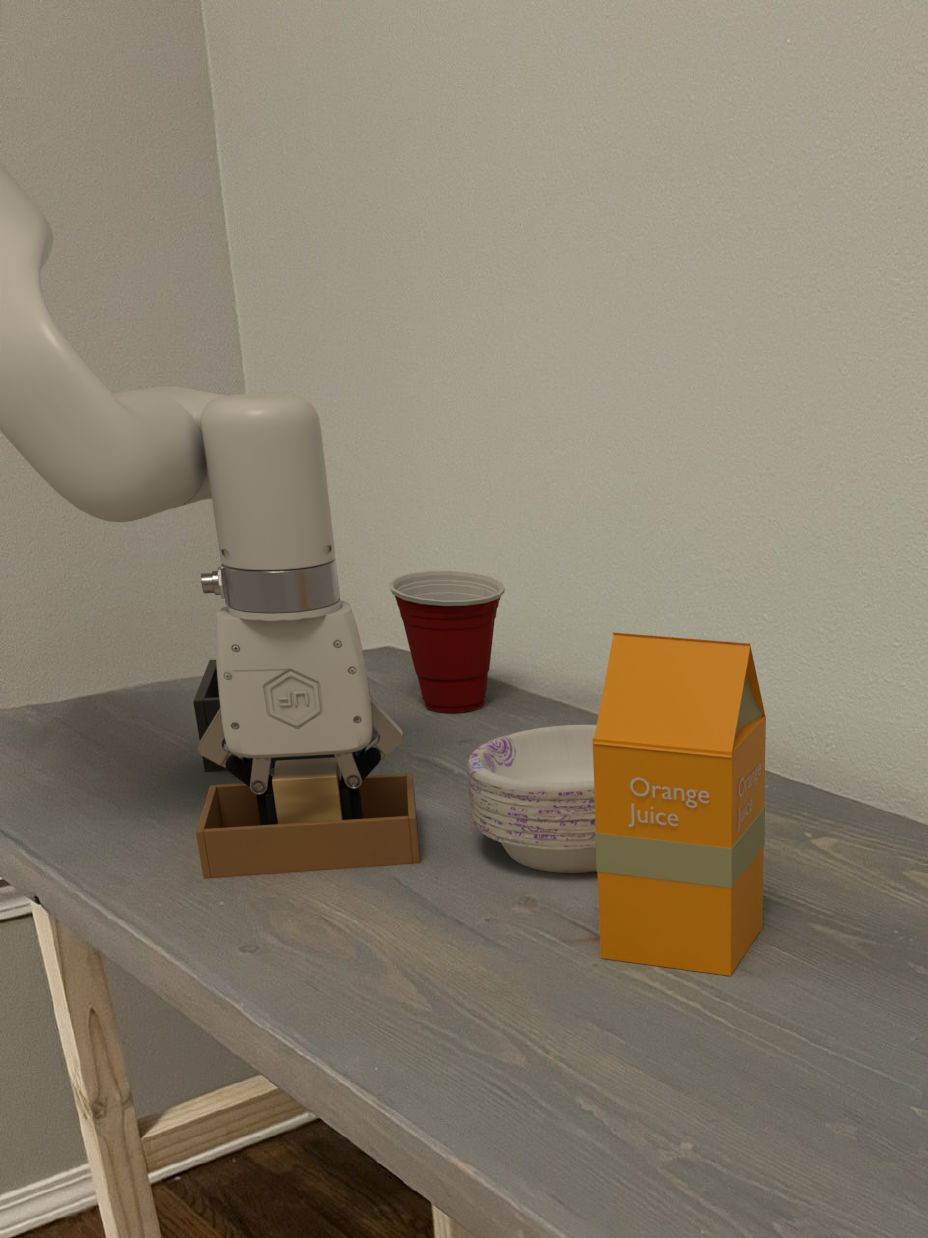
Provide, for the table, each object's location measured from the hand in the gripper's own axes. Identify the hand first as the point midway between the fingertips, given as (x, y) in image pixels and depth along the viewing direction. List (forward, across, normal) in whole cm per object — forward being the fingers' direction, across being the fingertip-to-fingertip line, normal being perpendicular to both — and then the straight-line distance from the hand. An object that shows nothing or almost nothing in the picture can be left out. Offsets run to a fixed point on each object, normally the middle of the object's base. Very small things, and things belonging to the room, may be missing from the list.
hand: (314, 834), depth 110 cm
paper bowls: (+2, +19, -4) cm, 19 cm away
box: (+1, 0, 0) cm, 1 cm away
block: (+1, 0, 0) cm, 1 cm away
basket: (+1, -3, +26) cm, 26 cm away
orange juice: (+2, +24, -21) cm, 32 cm away
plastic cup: (+2, +12, +37) cm, 39 cm away
